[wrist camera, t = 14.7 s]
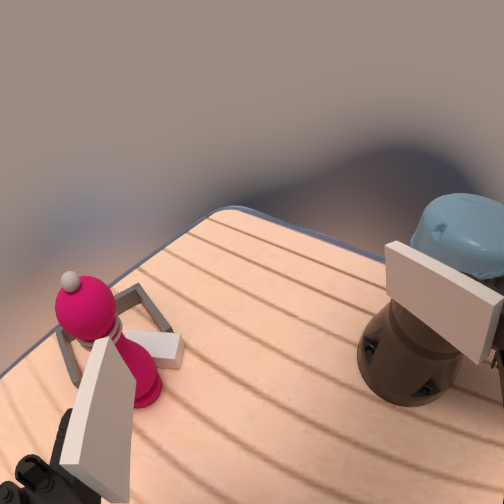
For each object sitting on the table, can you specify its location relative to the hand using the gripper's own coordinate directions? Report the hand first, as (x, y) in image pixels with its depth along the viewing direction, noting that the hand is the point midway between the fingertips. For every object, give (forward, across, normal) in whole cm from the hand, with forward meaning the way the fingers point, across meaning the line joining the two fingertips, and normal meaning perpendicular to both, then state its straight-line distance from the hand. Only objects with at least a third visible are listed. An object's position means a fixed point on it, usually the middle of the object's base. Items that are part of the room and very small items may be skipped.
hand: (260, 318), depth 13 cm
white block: (+23, -13, -16) cm, 31 cm away
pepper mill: (+18, -16, -17) cm, 30 cm away
